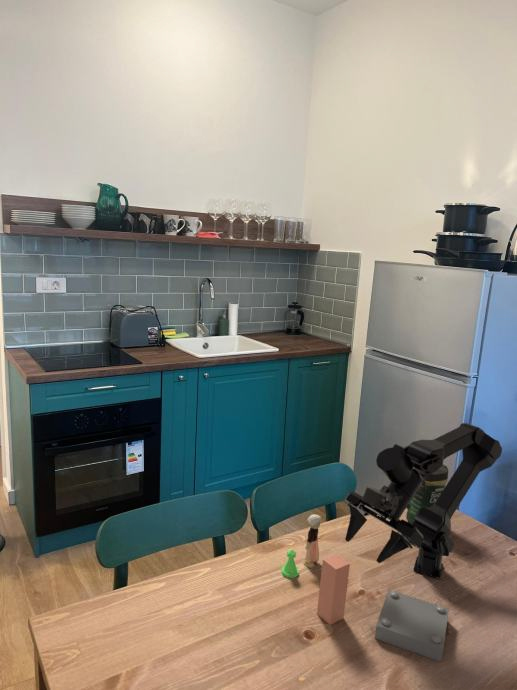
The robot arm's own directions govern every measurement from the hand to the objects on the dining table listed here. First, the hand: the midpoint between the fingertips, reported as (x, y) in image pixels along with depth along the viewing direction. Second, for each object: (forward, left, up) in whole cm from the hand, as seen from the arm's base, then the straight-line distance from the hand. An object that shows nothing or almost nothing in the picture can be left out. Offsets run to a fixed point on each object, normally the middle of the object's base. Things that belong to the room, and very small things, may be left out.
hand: (361, 551), depth 117 cm
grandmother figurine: (-10, -14, -13) cm, 22 cm away
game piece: (-3, -17, -13) cm, 22 cm away
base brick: (+2, +13, -13) cm, 18 cm away
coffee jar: (-45, +9, -13) cm, 48 cm away
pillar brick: (+7, -4, -13) cm, 15 cm away
